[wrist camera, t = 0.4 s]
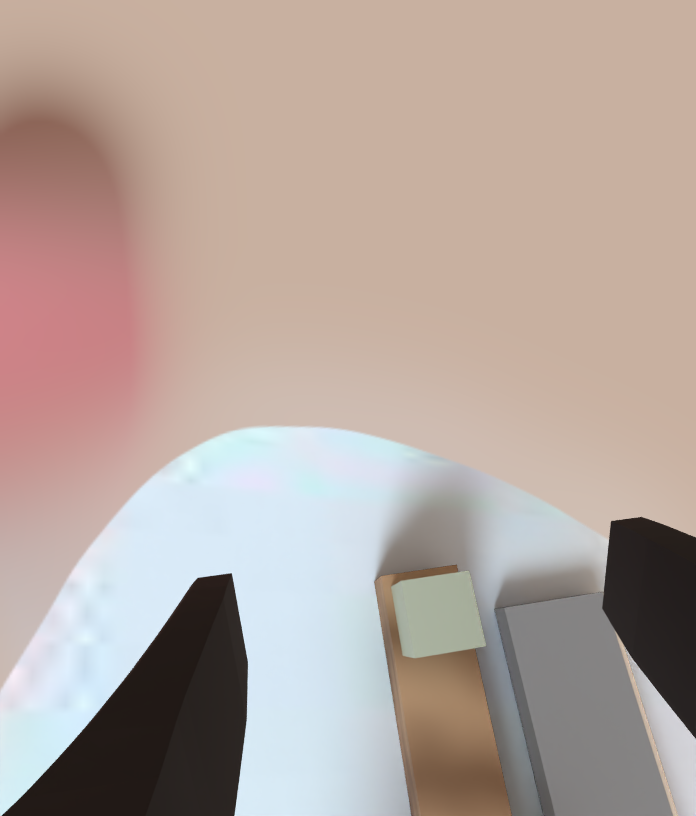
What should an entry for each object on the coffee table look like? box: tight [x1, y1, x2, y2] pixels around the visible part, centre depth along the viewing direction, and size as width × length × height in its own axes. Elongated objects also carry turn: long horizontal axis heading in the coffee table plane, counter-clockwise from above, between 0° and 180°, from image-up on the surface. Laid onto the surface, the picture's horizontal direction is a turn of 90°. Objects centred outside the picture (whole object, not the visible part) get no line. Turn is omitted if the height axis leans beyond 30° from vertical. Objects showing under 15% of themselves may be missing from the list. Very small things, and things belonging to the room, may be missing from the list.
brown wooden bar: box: [374, 565, 512, 816], centre depth 31 cm, size 24×5×4 cm, turn 9°
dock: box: [495, 592, 678, 816], centre depth 33 cm, size 18×7×2 cm, turn 9°
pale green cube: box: [391, 571, 486, 658], centre depth 31 cm, size 4×4×4 cm
